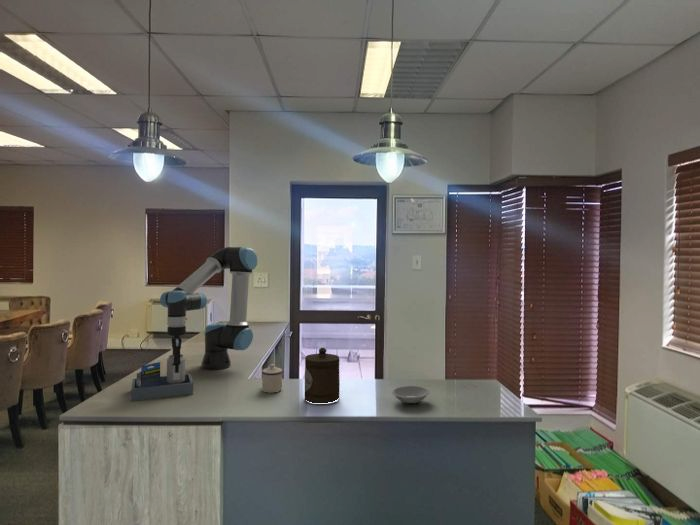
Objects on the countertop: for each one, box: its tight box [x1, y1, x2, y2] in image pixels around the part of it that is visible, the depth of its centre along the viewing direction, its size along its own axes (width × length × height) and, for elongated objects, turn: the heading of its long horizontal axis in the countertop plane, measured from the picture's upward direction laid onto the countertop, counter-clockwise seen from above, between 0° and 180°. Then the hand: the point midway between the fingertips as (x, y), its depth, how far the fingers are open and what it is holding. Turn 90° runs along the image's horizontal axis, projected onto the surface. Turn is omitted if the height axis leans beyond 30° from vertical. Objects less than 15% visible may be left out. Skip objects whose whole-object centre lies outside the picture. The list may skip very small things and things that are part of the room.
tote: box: [130, 373, 194, 402], centre depth 190 cm, size 24×16×5 cm, turn 115°
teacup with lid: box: [261, 363, 283, 393], centre depth 197 cm, size 12×9×12 cm
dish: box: [391, 385, 431, 404], centre depth 182 cm, size 18×14×5 cm
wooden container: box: [304, 347, 340, 403], centre depth 185 cm, size 15×15×22 cm
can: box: [166, 353, 186, 384], centre depth 193 cm, size 8×8×12 cm
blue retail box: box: [136, 361, 161, 388], centre depth 188 cm, size 9×4×12 cm, turn 145°
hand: (176, 377), depth 193 cm, fingers closed on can, 7 cm apart
